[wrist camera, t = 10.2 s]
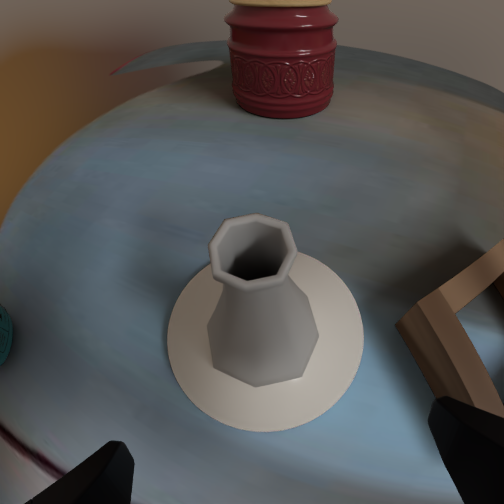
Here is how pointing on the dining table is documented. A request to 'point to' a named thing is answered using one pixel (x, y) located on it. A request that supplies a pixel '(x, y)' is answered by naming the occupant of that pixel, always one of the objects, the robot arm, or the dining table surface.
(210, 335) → the flask
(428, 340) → the walnut collar
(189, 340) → the ceramic plate
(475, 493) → the robot arm
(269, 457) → the dining table surface
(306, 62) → the canister
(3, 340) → the beverage bottle
